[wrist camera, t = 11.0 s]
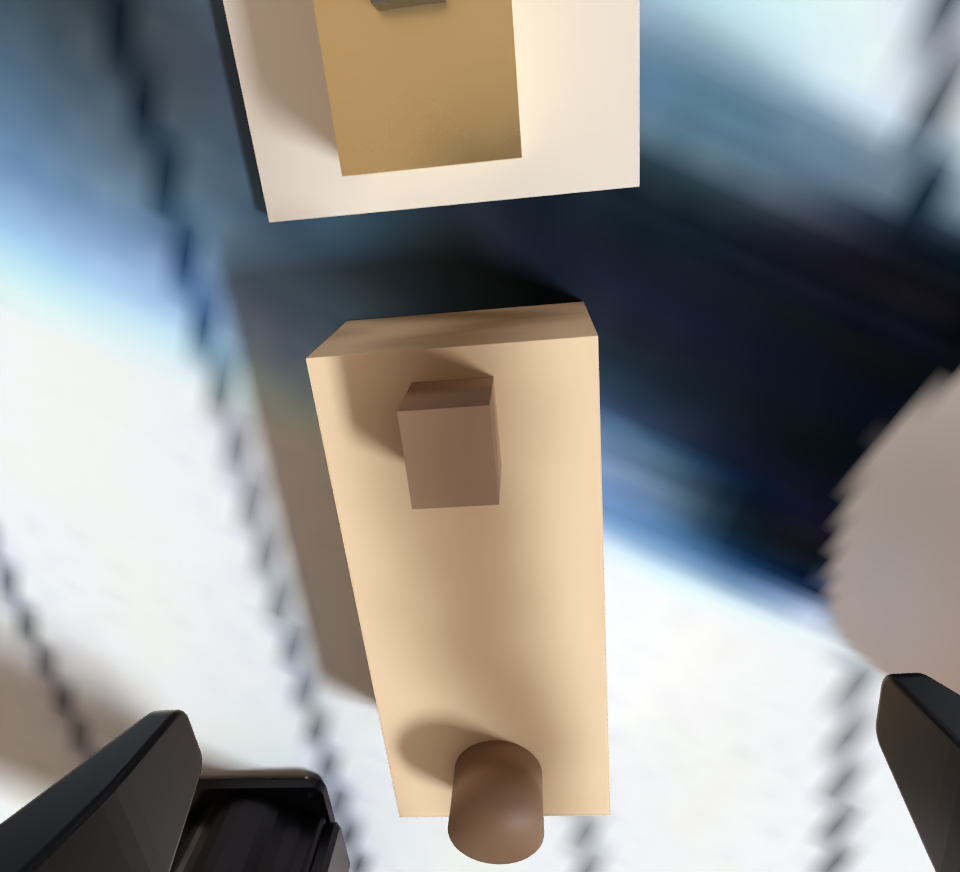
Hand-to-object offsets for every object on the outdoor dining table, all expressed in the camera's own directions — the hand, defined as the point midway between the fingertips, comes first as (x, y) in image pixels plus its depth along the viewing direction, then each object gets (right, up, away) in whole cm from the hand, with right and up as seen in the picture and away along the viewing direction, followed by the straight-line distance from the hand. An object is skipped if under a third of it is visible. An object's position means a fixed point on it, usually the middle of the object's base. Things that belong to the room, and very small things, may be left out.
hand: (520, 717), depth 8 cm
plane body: (0, 0, +14) cm, 14 cm away
